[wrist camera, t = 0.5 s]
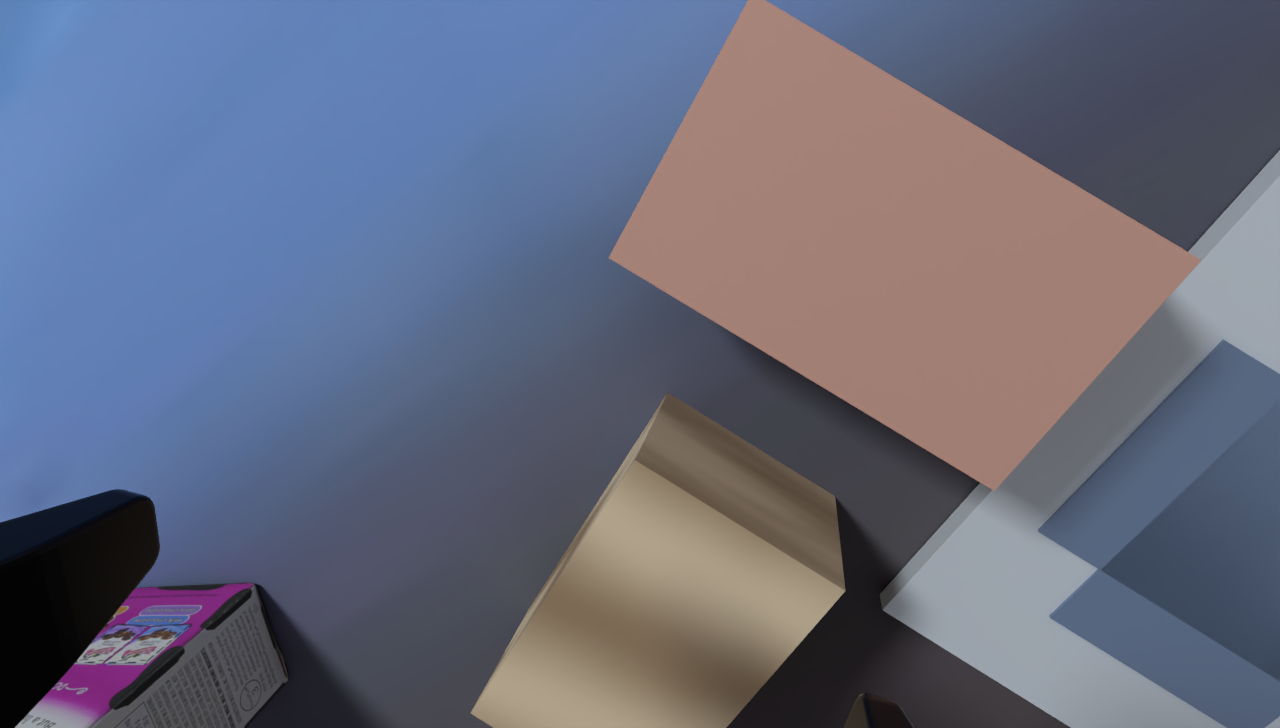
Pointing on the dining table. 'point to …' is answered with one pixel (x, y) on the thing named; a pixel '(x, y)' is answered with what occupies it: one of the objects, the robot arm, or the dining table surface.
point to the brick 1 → (674, 589)
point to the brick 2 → (891, 247)
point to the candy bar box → (172, 664)
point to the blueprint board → (1138, 518)
